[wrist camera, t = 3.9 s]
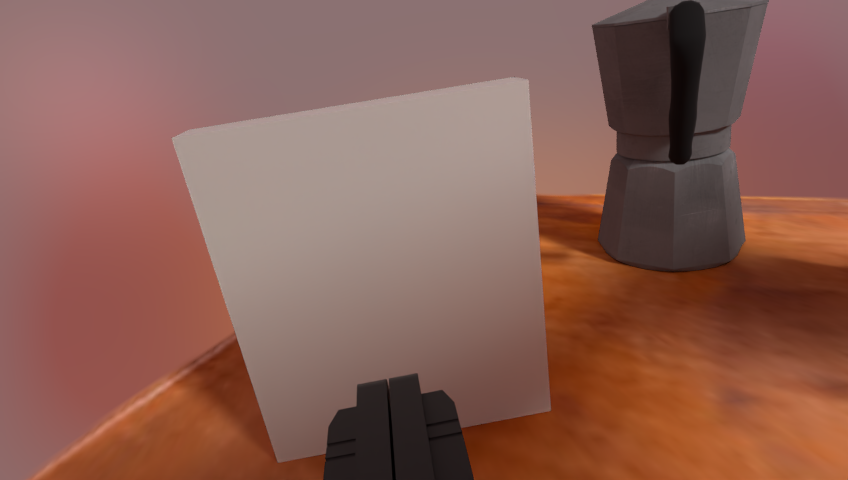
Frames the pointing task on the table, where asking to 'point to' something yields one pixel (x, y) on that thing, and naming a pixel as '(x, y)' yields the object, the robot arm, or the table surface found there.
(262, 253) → the tile
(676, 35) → the coffeepot
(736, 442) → the table surface
